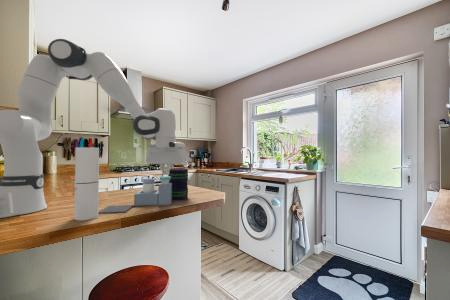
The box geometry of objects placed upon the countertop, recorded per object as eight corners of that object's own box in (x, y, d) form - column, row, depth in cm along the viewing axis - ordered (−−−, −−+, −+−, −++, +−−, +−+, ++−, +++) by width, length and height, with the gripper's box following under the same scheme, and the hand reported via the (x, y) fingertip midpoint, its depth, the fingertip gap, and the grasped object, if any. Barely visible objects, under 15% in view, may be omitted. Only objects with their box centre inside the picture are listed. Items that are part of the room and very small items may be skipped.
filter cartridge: (141, 204, 93) (141, 179, 93) (144, 201, 98) (144, 178, 99) (153, 203, 94) (153, 179, 94) (155, 201, 99) (155, 178, 99)
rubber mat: (97, 213, 78) (97, 212, 78) (108, 206, 88) (108, 205, 88) (125, 212, 80) (125, 211, 80) (133, 206, 90) (133, 204, 90)
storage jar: (191, 197, 108) (191, 168, 109) (182, 201, 99) (183, 170, 99) (174, 196, 111) (174, 168, 111) (164, 200, 101) (164, 169, 102)
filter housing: (133, 205, 90) (133, 185, 90) (140, 200, 100) (140, 181, 101) (170, 204, 92) (170, 184, 92) (172, 199, 103) (173, 181, 103)
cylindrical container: (86, 221, 70) (87, 147, 70) (69, 219, 71) (70, 147, 72) (103, 214, 77) (103, 147, 77) (86, 213, 78) (87, 148, 79)
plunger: (159, 193, 92) (159, 177, 92) (161, 191, 96) (161, 176, 96) (169, 193, 93) (169, 177, 93) (170, 191, 97) (170, 176, 97)
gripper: (143, 144, 96) (142, 174, 96) (180, 143, 88) (180, 175, 88) (152, 144, 102) (152, 172, 101) (188, 144, 94) (188, 174, 94)
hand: (165, 174), depth 95 cm, fingers closed
